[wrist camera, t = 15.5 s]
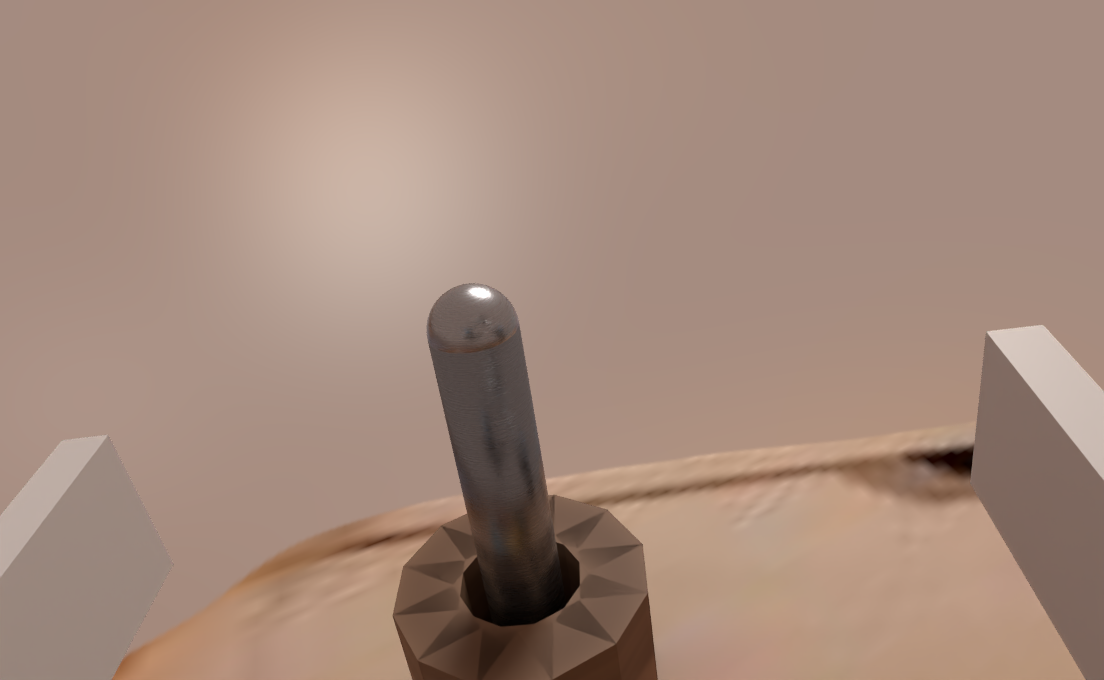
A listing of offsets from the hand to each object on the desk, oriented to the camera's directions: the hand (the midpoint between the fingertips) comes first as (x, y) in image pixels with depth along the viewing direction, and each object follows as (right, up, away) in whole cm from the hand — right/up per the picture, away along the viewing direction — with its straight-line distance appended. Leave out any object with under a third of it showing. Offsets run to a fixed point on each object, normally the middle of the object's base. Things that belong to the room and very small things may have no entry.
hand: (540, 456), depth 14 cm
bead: (0, -13, +24) cm, 27 cm away
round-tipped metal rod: (0, -13, +24) cm, 27 cm away
